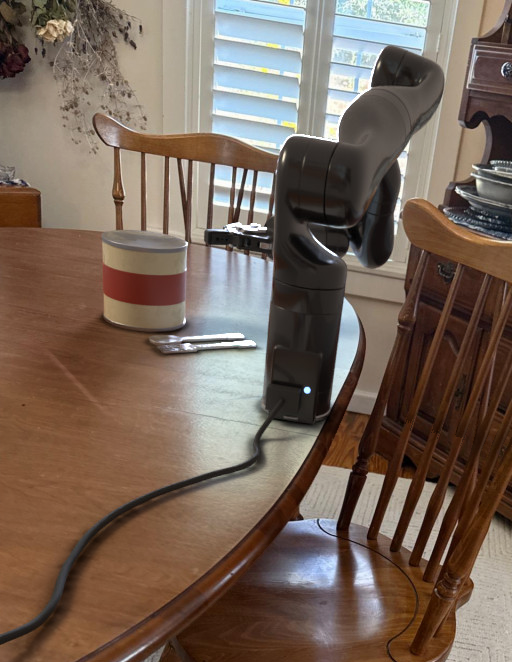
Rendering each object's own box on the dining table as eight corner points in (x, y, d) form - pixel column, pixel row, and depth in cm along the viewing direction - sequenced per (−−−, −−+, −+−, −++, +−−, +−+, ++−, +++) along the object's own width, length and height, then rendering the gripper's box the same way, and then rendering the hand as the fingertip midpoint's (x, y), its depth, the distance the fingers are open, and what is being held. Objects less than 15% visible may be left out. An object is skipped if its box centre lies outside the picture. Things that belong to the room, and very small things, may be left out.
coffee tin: (172, 336, 124) (174, 253, 117) (91, 323, 123) (88, 238, 117) (194, 316, 135) (196, 239, 129) (119, 304, 135) (118, 226, 128)
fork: (249, 342, 127) (250, 339, 127) (257, 348, 125) (258, 345, 125) (156, 348, 118) (156, 345, 117) (163, 354, 116) (163, 350, 116)
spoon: (236, 334, 130) (236, 331, 130) (247, 341, 127) (248, 338, 127) (145, 338, 121) (145, 335, 121) (155, 346, 118) (155, 343, 118)
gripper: (278, 209, 141) (189, 205, 131) (316, 225, 132) (225, 221, 122) (274, 251, 145) (188, 250, 135) (312, 270, 136) (222, 270, 126)
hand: (206, 237), depth 129 cm, fingers closed
